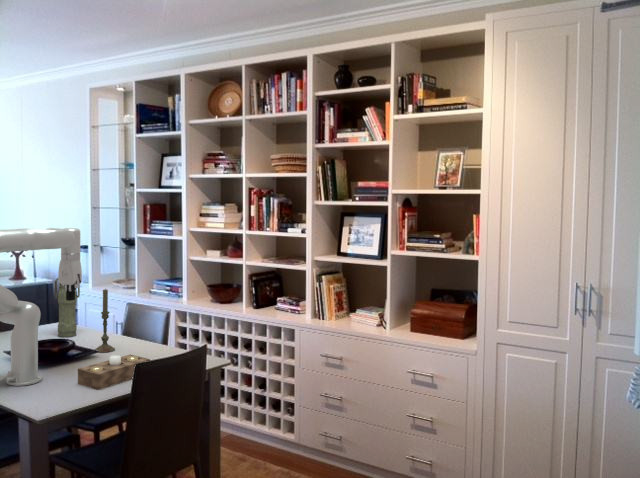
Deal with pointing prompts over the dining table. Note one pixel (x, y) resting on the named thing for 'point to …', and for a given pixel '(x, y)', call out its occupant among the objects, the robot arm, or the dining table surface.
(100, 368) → the near brass knob
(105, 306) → the candlestick holder
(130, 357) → the far brass knob
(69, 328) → the thermos
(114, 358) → the middle white knob
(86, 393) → the dining table surface
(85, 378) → the wooden block
